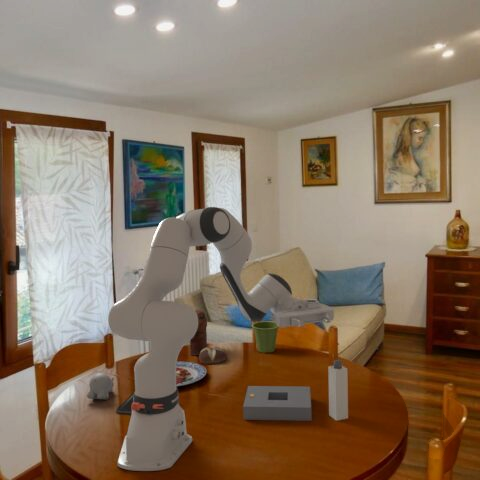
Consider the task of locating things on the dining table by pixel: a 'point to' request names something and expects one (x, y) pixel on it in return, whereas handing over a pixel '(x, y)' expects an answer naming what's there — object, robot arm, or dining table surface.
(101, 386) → the chubby cartoon animal
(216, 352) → the bread
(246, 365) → the dining table surface
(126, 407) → the phone
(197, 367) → the ceramic plate
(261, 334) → the plant pot
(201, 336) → the wooden figurine
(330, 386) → the white square bottle
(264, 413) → the block
